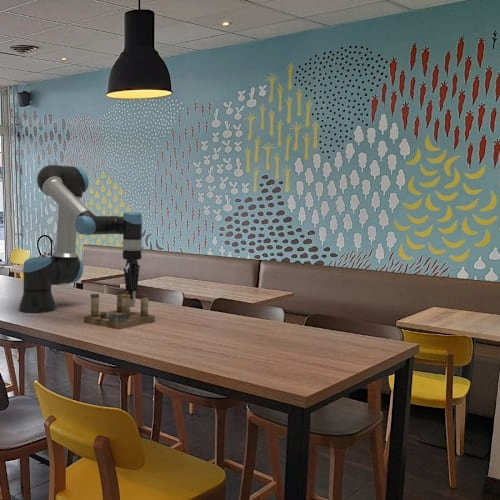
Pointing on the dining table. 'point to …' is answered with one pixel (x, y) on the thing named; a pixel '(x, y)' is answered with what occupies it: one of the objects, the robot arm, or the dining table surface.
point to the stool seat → (119, 319)
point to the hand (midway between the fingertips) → (131, 306)
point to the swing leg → (124, 307)
